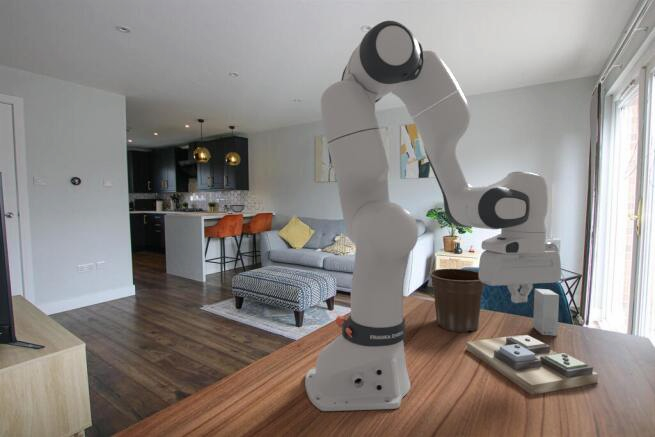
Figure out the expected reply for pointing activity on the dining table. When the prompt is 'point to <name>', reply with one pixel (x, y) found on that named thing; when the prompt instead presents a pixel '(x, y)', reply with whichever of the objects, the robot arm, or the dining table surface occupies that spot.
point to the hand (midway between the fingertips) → (519, 302)
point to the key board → (531, 367)
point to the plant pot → (457, 298)
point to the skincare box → (546, 312)
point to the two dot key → (517, 353)
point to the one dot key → (527, 341)
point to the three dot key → (566, 361)
